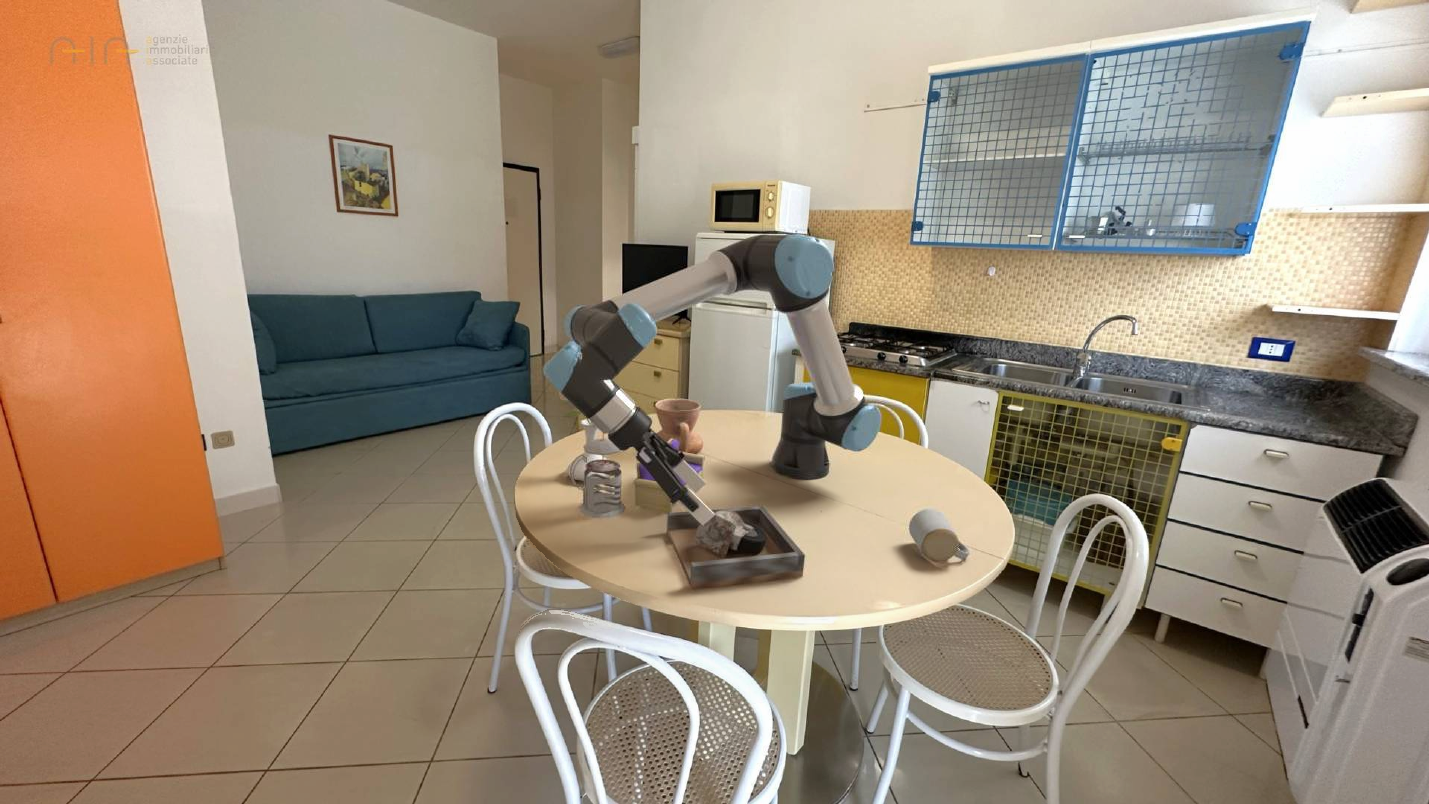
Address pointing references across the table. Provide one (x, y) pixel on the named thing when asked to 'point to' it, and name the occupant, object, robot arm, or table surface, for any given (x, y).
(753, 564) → the square tray
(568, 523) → the table surface
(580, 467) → the flower in vase
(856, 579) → the table surface
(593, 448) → the french press
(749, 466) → the table surface
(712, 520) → the caster wheel
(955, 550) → the ceramic mug
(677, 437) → the ceramic jug
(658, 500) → the toy sofa
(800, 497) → the table surface
